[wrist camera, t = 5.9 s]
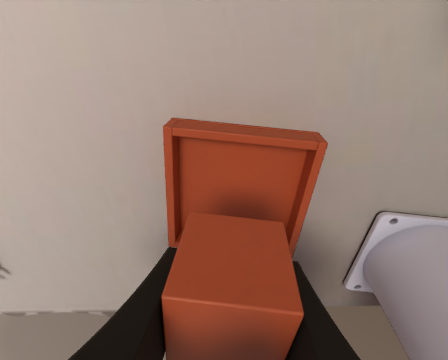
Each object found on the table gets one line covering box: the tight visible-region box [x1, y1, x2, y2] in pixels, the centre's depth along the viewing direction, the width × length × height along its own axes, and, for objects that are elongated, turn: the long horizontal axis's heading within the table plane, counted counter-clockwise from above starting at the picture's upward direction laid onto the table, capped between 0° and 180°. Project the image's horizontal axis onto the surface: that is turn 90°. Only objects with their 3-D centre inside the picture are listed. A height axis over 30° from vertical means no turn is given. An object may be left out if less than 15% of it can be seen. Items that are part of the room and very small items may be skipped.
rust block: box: [161, 212, 304, 360], centre depth 9 cm, size 4×4×4 cm
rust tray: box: [163, 118, 328, 258], centre depth 16 cm, size 9×9×2 cm
